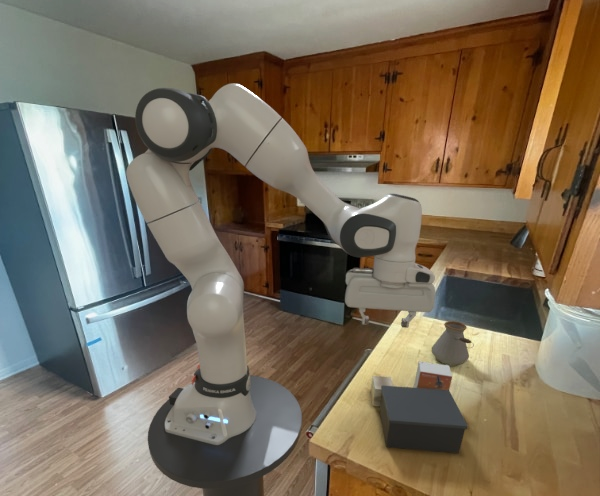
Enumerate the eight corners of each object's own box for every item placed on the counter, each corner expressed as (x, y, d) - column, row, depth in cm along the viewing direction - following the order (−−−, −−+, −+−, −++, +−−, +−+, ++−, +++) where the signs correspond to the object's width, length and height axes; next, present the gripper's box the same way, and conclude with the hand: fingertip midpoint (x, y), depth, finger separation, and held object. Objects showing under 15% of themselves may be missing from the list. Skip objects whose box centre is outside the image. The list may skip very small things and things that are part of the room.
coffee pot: (427, 349, 116) (434, 310, 111) (462, 353, 114) (471, 313, 109) (439, 384, 97) (448, 339, 91) (480, 389, 95) (493, 344, 89)
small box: (413, 404, 89) (419, 371, 85) (412, 392, 94) (418, 360, 90) (445, 410, 87) (452, 376, 83) (442, 397, 92) (449, 364, 88)
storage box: (384, 448, 74) (389, 420, 71) (378, 410, 86) (381, 385, 83) (460, 454, 73) (468, 426, 70) (443, 415, 85) (449, 390, 82)
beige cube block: (372, 405, 88) (374, 388, 86) (370, 392, 93) (372, 375, 91) (391, 407, 87) (394, 390, 85) (388, 393, 93) (390, 376, 91)
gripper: (347, 270, 72) (341, 327, 77) (442, 276, 70) (430, 334, 76) (346, 263, 78) (341, 316, 83) (434, 268, 76) (423, 322, 81)
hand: (384, 325), depth 79 cm, fingers open, 8 cm apart
